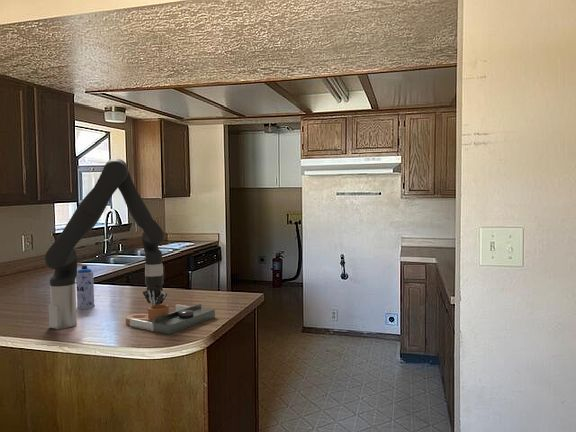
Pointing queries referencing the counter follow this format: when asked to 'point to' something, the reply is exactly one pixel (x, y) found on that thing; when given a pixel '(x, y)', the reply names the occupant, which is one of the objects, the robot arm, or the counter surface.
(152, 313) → the bracket
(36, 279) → the counter surface
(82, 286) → the aerosol can
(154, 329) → the deck mount
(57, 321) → the robot arm
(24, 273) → the counter surface
